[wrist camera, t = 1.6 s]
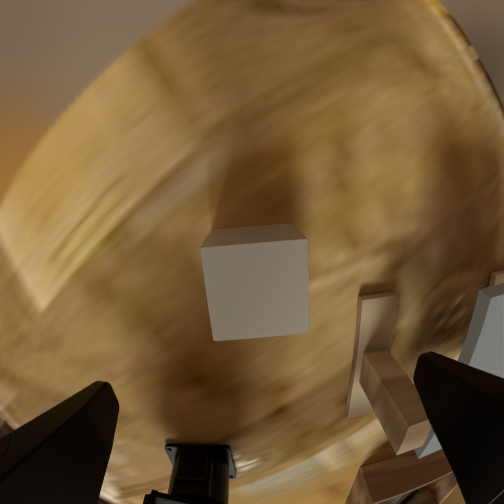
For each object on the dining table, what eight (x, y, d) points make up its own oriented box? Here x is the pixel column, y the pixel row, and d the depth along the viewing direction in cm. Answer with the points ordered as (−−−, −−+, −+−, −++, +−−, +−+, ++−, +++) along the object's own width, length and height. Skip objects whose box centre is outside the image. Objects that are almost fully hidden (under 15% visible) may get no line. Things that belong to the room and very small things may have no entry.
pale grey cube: (293, 296, 19) (308, 332, 15) (220, 302, 19) (213, 340, 15) (290, 222, 18) (307, 238, 13) (211, 229, 18) (200, 247, 13)
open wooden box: (427, 483, 29) (439, 505, 24) (341, 511, 29) (348, 538, 23) (463, 427, 25) (482, 453, 20) (360, 466, 25) (373, 503, 19)
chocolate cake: (437, 459, 28) (421, 505, 19) (422, 489, 28) (403, 534, 19) (385, 450, 34) (358, 491, 25) (375, 479, 34) (346, 519, 25)
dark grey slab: (479, 386, 19) (502, 415, 14) (398, 419, 19) (418, 458, 14) (524, 250, 14) (563, 271, 10) (442, 264, 14) (490, 297, 10)
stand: (480, 368, 22) (524, 411, 14) (344, 412, 22) (374, 488, 14) (507, 268, 20) (569, 300, 11) (358, 295, 19) (421, 367, 11)
